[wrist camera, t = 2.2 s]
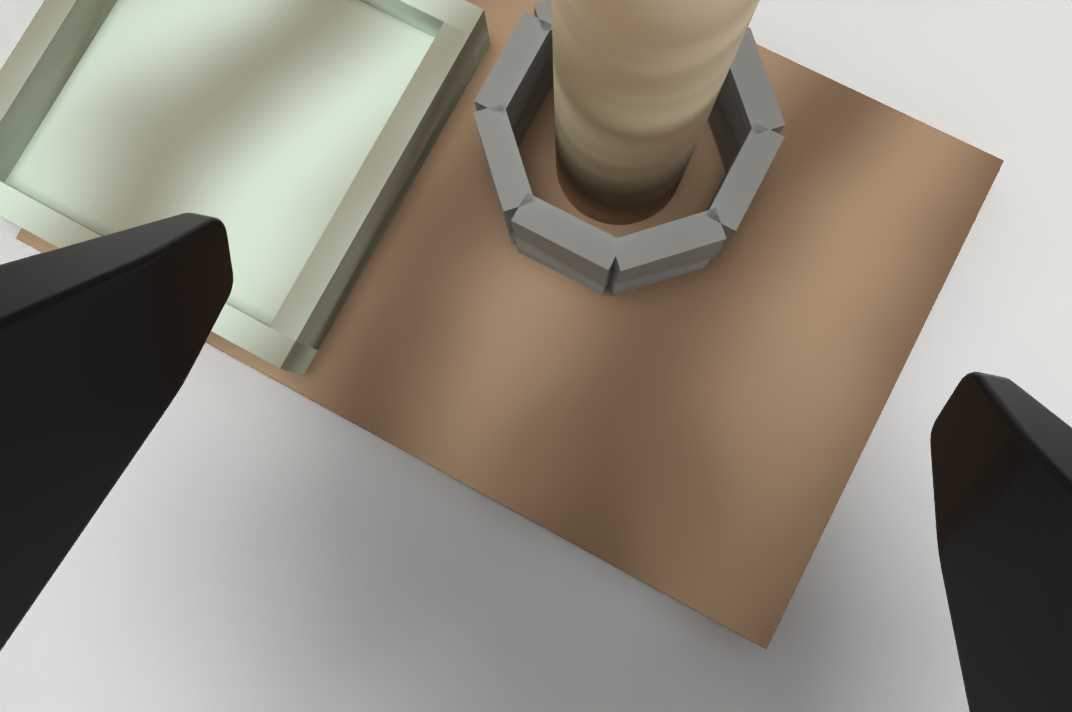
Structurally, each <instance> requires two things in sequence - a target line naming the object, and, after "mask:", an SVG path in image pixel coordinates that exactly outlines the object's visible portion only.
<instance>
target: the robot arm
mask: <svg viewBox="0 0 1072 712" xmlns="http://www.w3.org/2000/svg"><path fill="white" fill-rule="evenodd" d="M232 286H233V269H232V263H231V256H230V250H229V243H228V236H227V231H226V227H225V225H224V223H223V222H222V221H221V220H220V219H218V218H215V217H211V216H206V215H201V214H196V213H182V214H179V215H175V216H172V217H168V218H165V219H161V220H158V221H154V222H151V223H147V224H143V225H140V226H136V227H133V228H129V229H126V230H122V231H119V232H115V233H112V234H108V235H104V236H101V237H97V238H94V239H90V240H87V241H83V242H80V243H76V244H73V245H69V246H65V247H62V248H58V249H55V250H51V251H48V252H44V253H41V254H37V255H34V256H30V257H26V258H23V259H19V260H16V261H12V262H9V263H5V264H2V265H0V651H1V650H2V648H3V647H4V645H5V644H6V642H7V641H8V639H9V638H10V636H11V635H12V634H13V632H14V631H15V629H16V628H17V626H18V625H19V623H20V622H21V620H22V619H23V618H24V616H25V615H26V613H27V612H28V610H29V609H30V607H31V606H32V604H33V603H34V602H35V600H36V599H37V597H38V596H39V594H40V593H41V591H42V590H43V588H44V587H45V585H46V584H47V583H48V581H49V580H50V578H51V577H52V575H53V574H54V572H55V571H56V569H57V568H58V567H59V565H60V564H61V562H62V561H63V559H64V558H65V556H66V555H67V553H68V552H69V551H70V549H71V548H72V546H73V545H74V543H75V542H76V540H77V539H78V537H79V536H80V535H81V533H82V532H83V530H84V529H85V527H86V526H87V524H88V523H89V521H90V520H91V518H92V517H93V516H94V514H95V513H96V511H97V510H98V508H99V507H100V505H101V504H102V502H103V501H104V500H105V498H106V497H107V495H108V494H109V492H110V491H111V489H112V488H113V486H114V485H115V484H116V482H117V481H118V479H119V478H120V476H121V475H122V473H123V472H124V470H125V469H126V468H127V466H128V465H129V463H130V462H131V460H132V459H133V457H134V456H135V454H136V453H137V451H138V450H139V449H140V447H141V446H142V444H143V443H144V441H145V440H146V438H147V437H148V435H149V434H150V433H151V431H152V430H153V428H154V427H155V425H156V424H157V422H158V421H159V419H160V418H161V417H162V415H163V414H164V412H165V411H166V409H167V408H168V406H169V405H170V403H171V402H172V400H173V399H174V397H175V396H176V394H177V393H178V391H179V390H180V388H181V386H182V385H183V383H184V381H185V379H186V378H187V376H188V374H189V372H190V370H191V368H192V367H193V365H194V363H195V361H196V359H197V357H198V355H199V353H200V351H201V349H202V347H203V346H204V344H205V342H206V340H207V338H208V336H209V334H210V332H211V330H212V328H213V326H214V324H215V323H216V321H217V319H218V317H219V315H220V313H221V311H222V309H223V307H224V305H225V303H226V301H227V300H228V298H229V296H230V293H231V290H232ZM930 442H931V458H932V472H933V487H934V501H935V516H936V530H937V541H938V550H939V557H940V563H941V569H942V574H943V579H944V584H945V589H946V594H947V600H948V605H949V610H950V615H951V620H952V625H953V630H954V635H955V640H956V645H957V650H958V655H959V660H960V665H961V670H962V675H963V680H964V685H965V691H966V696H967V701H968V706H969V711H970V712H1072V428H1071V427H1070V426H1069V425H1068V424H1066V423H1065V422H1064V421H1062V420H1061V419H1060V418H1059V417H1057V416H1056V415H1055V414H1053V413H1052V412H1051V411H1050V410H1048V409H1047V408H1046V407H1045V406H1043V405H1042V404H1041V403H1039V402H1038V401H1037V400H1036V399H1034V398H1033V397H1032V396H1030V395H1029V394H1028V393H1027V392H1025V391H1024V390H1023V389H1022V388H1020V387H1019V386H1018V385H1016V384H1015V383H1014V382H1013V381H1011V380H1010V379H1007V378H1004V377H1000V376H995V375H990V374H985V373H980V372H972V373H969V374H967V375H966V376H965V377H963V379H962V380H961V381H960V382H959V384H958V386H957V387H956V389H955V390H954V392H953V394H952V395H951V397H950V398H949V400H948V401H947V403H946V405H945V406H944V408H943V409H942V411H941V413H940V414H939V416H938V417H937V419H936V421H935V423H934V425H933V428H932V432H931V439H930Z"/></svg>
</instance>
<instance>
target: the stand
mask: <svg viewBox="0 0 1072 712" xmlns="http://www.w3.org/2000/svg"><path fill="white" fill-rule="evenodd" d="M1002 163H1003V160H1001V159H999V158H997V157H995V156H993V155H991V154H989V153H986V152H984V151H982V150H980V149H978V148H976V147H974V146H972V145H969V144H967V143H965V142H963V141H961V140H959V139H957V138H955V137H952V136H950V135H948V134H946V133H944V132H942V131H940V130H938V129H935V128H933V127H931V126H929V125H927V124H925V123H923V122H921V121H919V120H916V119H914V118H912V117H910V116H908V115H906V114H904V113H902V112H899V111H897V110H895V109H893V108H891V107H889V106H887V105H885V104H882V103H880V102H878V101H876V100H874V99H872V98H870V97H868V96H865V95H863V94H861V93H859V92H857V91H855V90H853V89H851V88H848V87H846V86H844V85H842V84H840V83H838V82H836V81H834V80H831V79H829V78H827V77H825V76H823V75H821V74H819V73H817V72H814V71H812V70H810V69H808V68H806V67H804V66H802V65H800V64H797V63H795V62H793V61H791V60H789V59H787V58H785V57H783V56H780V55H778V54H776V53H774V52H772V51H770V50H768V49H766V48H763V47H761V46H759V45H757V44H756V42H755V40H754V37H753V34H752V32H751V29H750V28H747V30H746V32H745V34H744V37H743V39H742V41H741V43H740V46H739V48H738V50H737V53H736V55H735V57H734V59H733V62H732V64H731V66H730V69H729V71H728V73H727V76H726V78H725V80H724V82H723V85H722V87H721V89H720V92H719V94H718V96H717V98H716V101H715V103H714V105H713V108H712V110H711V112H710V115H709V117H708V119H707V121H706V124H705V126H704V128H703V131H702V133H701V135H700V138H699V140H698V142H697V144H696V147H695V149H694V151H693V154H692V156H691V158H690V160H689V163H688V165H687V167H686V170H685V172H684V174H683V177H682V179H681V181H680V183H679V186H678V188H677V190H676V192H675V194H674V195H673V197H672V199H671V200H670V201H669V202H668V204H667V205H666V206H665V207H664V208H663V209H662V210H660V211H659V212H658V213H656V214H655V215H653V216H652V217H650V218H648V219H646V220H643V221H640V222H637V223H633V224H627V225H611V224H605V223H601V222H598V221H595V220H593V219H591V218H589V217H587V216H585V215H584V214H582V213H581V212H580V211H578V210H577V209H576V208H575V207H574V206H573V205H572V204H571V203H570V202H569V200H568V199H567V198H566V196H565V195H564V193H563V191H562V189H561V187H560V184H559V181H558V177H557V171H556V147H555V112H554V77H553V42H552V8H551V0H45V1H44V2H43V4H42V5H41V7H40V9H39V10H38V12H37V13H36V15H35V17H34V18H33V20H32V21H31V23H30V24H29V26H28V28H27V29H26V31H25V32H24V34H23V36H22V37H21V39H20V40H19V42H18V43H17V45H16V47H15V48H14V50H13V51H12V53H11V55H10V56H9V58H8V59H7V61H6V63H5V64H4V66H3V67H2V69H1V70H0V216H1V217H3V218H5V219H7V220H9V221H10V222H12V223H14V224H16V225H18V226H20V227H21V228H22V229H21V230H20V232H19V234H18V235H17V237H16V239H18V240H20V241H22V242H24V243H26V244H27V245H29V246H31V247H33V248H35V249H37V250H38V251H40V252H42V253H44V252H48V251H51V250H55V249H58V248H62V247H65V246H69V245H73V244H76V243H80V242H83V241H87V240H90V239H94V238H97V237H101V236H104V235H108V234H112V233H115V232H119V231H122V230H126V229H129V228H133V227H136V226H140V225H143V224H147V223H151V222H154V221H158V220H161V219H165V218H168V217H172V216H175V215H179V214H182V213H196V214H201V215H206V216H211V217H215V218H218V219H220V220H221V221H222V222H223V223H224V225H225V227H226V231H227V236H228V243H229V250H230V256H231V263H232V269H233V286H232V290H231V293H230V296H229V298H228V300H227V301H226V303H225V305H224V307H223V309H222V311H221V313H220V315H219V317H218V319H217V321H216V323H215V324H214V326H213V328H212V330H211V332H210V334H209V336H208V338H207V340H206V343H208V344H210V345H212V346H214V347H215V348H217V349H219V350H221V351H223V352H225V353H226V354H228V355H230V356H232V357H234V358H236V359H237V360H239V361H241V362H243V363H245V364H246V365H248V366H250V367H252V368H254V369H256V370H257V371H259V372H261V373H263V374H265V375H267V376H268V377H270V378H272V379H274V380H276V381H278V382H279V383H281V384H283V385H285V386H287V387H288V388H290V389H292V390H294V391H296V392H298V393H299V394H301V395H303V396H305V397H307V398H309V399H310V400H312V401H314V402H316V403H318V404H320V405H321V406H323V407H325V408H327V409H329V410H330V411H332V412H334V413H336V414H338V415H340V416H341V417H343V418H345V419H347V420H349V421H351V422H352V423H354V424H356V425H358V426H360V427H362V428H363V429H365V430H367V431H369V432H371V433H372V434H374V435H376V436H378V437H380V438H382V439H383V440H385V441H387V442H389V443H391V444H393V445H394V446H396V447H398V448H400V449H402V450H403V451H405V452H407V453H409V454H411V455H413V456H414V457H416V458H418V459H420V460H422V461H424V462H425V463H427V464H429V465H431V466H433V467H435V468H436V469H438V470H440V471H442V472H444V473H445V474H447V475H449V476H451V477H453V478H455V479H456V480H458V481H460V482H462V483H464V484H466V485H467V486H469V487H471V488H473V489H475V490H477V491H478V492H480V493H482V494H484V495H486V496H487V497H489V498H491V499H493V500H495V501H497V502H498V503H500V504H502V505H504V506H506V507H508V508H509V509H511V510H513V511H515V512H517V513H519V514H520V515H522V516H524V517H526V518H528V519H529V520H531V521H533V522H535V523H537V524H539V525H540V526H542V527H544V528H546V529H548V530H550V531H551V532H553V533H555V534H557V535H559V536H560V537H562V538H564V539H566V540H568V541H570V542H571V543H573V544H575V545H577V546H579V547H581V548H582V549H584V550H586V551H588V552H590V553H592V554H593V555H595V556H597V557H599V558H601V559H602V560H604V561H606V562H608V563H610V564H612V565H613V566H615V567H617V568H619V569H621V570H623V571H624V572H626V573H628V574H630V575H632V576H634V577H635V578H637V579H639V580H641V581H643V582H644V583H646V584H648V585H650V586H652V587H654V588H655V589H657V590H659V591H661V592H663V593H665V594H666V595H668V596H670V597H672V598H674V599H675V600H677V601H679V602H681V603H683V604H685V605H686V606H688V607H690V608H692V609H694V610H696V611H697V612H699V613H701V614H703V615H705V616H707V617H708V618H710V619H712V620H714V621H716V622H717V623H719V624H721V625H723V626H725V627H727V628H728V629H730V630H732V631H734V632H736V633H738V634H739V635H741V636H743V637H745V638H747V639H749V640H750V641H752V642H754V643H756V644H758V645H759V646H761V647H763V648H765V649H766V648H767V646H768V644H769V642H770V640H771V638H772V636H773V634H774V632H775V630H776V628H777V626H778V624H779V622H780V620H781V617H782V615H783V613H784V611H785V609H786V607H787V605H788V603H789V601H790V599H791V597H792V595H793V593H794V591H795V589H796V587H797V585H798V583H799V580H800V578H801V576H802V574H803V572H804V570H805V568H806V566H807V564H808V562H809V560H810V558H811V556H812V554H813V552H814V550H815V548H816V546H817V543H818V541H819V539H820V537H821V535H822V533H823V531H824V529H825V527H826V525H827V523H828V521H829V519H830V517H831V515H832V513H833V511H834V509H835V506H836V504H837V502H838V500H839V498H840V496H841V494H842V492H843V490H844V488H845V486H846V484H847V482H848V480H849V478H850V476H851V474H852V472H853V469H854V467H855V465H856V463H857V461H858V459H859V457H860V455H861V453H862V451H863V449H864V447H865V445H866V443H867V441H868V439H869V437H870V435H871V432H872V430H873V428H874V426H875V424H876V422H877V420H878V418H879V416H880V414H881V412H882V410H883V408H884V406H885V404H886V402H887V400H888V398H889V395H890V393H891V391H892V389H893V387H894V385H895V383H896V381H897V379H898V377H899V375H900V373H901V371H902V369H903V367H904V365H905V363H906V361H907V358H908V356H909V354H910V352H911V350H912V348H913V346H914V344H915V342H916V340H917V338H918V336H919V334H920V332H921V330H922V328H923V326H924V324H925V321H926V319H927V317H928V315H929V313H930V311H931V309H932V307H933V305H934V303H935V301H936V299H937V297H938V295H939V293H940V291H941V289H942V287H943V284H944V282H945V280H946V278H947V276H948V274H949V272H950V270H951V268H952V266H953V264H954V262H955V260H956V258H957V256H958V254H959V252H960V250H961V247H962V245H963V243H964V241H965V239H966V237H967V235H968V233H969V231H970V229H971V227H972V225H973V223H974V221H975V219H976V217H977V215H978V213H979V210H980V208H981V206H982V204H983V202H984V200H985V198H986V196H987V194H988V192H989V190H990V188H991V186H992V184H993V182H994V180H995V178H996V176H997V173H998V171H999V169H1000V167H1001V165H1002Z"/></svg>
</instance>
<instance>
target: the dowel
mask: <svg viewBox="0 0 1072 712" xmlns="http://www.w3.org/2000/svg"><path fill="white" fill-rule="evenodd" d="M758 2H759V0H551V8H552V42H553V77H554V112H555V147H556V171H557V177H558V181H559V184H560V187H561V189H562V191H563V193H564V195H565V196H566V198H567V199H568V200H569V202H570V203H571V204H572V205H573V206H574V207H575V208H576V209H577V210H578V211H580V212H581V213H582V214H584V215H585V216H587V217H589V218H591V219H593V220H595V221H598V222H601V223H605V224H611V225H627V224H633V223H637V222H640V221H643V220H646V219H648V218H650V217H652V216H653V215H655V214H656V213H658V212H659V211H660V210H662V209H663V208H664V207H665V206H666V205H667V204H668V202H669V201H670V200H671V199H672V197H673V195H674V194H675V192H676V190H677V188H678V186H679V183H680V181H681V179H682V177H683V174H684V172H685V170H686V167H687V165H688V163H689V160H690V158H691V156H692V154H693V151H694V149H695V147H696V144H697V142H698V140H699V138H700V135H701V133H702V131H703V128H704V126H705V124H706V121H707V119H708V117H709V115H710V112H711V110H712V108H713V105H714V103H715V101H716V98H717V96H718V94H719V92H720V89H721V87H722V85H723V82H724V80H725V78H726V76H727V73H728V71H729V69H730V66H731V64H732V62H733V59H734V57H735V55H736V53H737V50H738V48H739V46H740V43H741V41H742V39H743V37H744V34H745V32H746V30H747V27H748V25H749V23H750V20H751V18H752V16H753V14H754V11H755V9H756V7H757V4H758Z"/></svg>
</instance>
